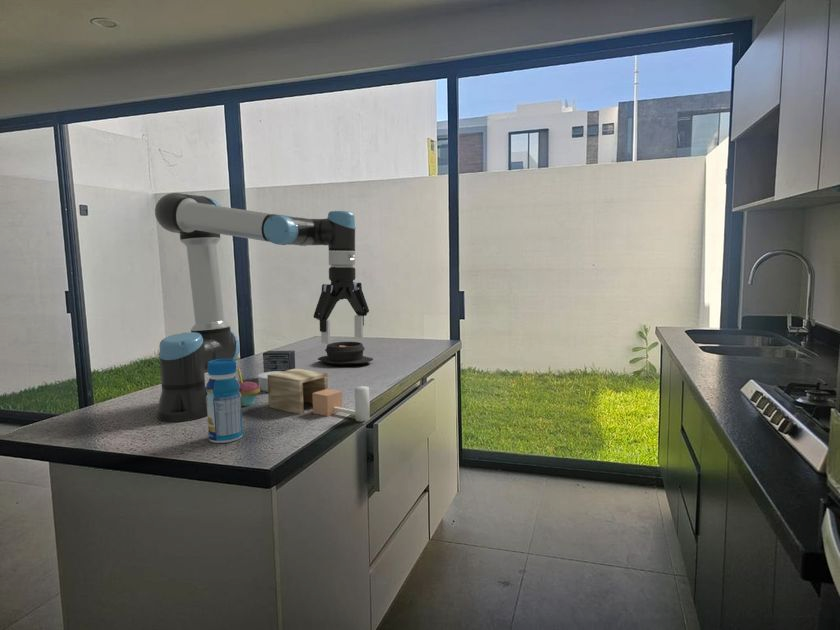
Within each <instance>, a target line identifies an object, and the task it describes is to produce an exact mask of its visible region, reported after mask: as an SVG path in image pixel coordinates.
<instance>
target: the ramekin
mask: <svg viewBox="0 0 840 630" xmlns="http://www.w3.org/2000/svg"><path fill="white" fill-rule="evenodd" d="M278 372H283V371H272V372H265V373H264V372H262V373H259V374H257V380H258V383H259V384H258V385H259V387H260V391H262V392H266V393H268V378H267V375H270V374H274V373H278Z"/></svg>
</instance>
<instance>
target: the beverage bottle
mask: <svg viewBox="0 0 840 630" xmlns="http://www.w3.org/2000/svg"><path fill="white" fill-rule="evenodd" d="M207 366H208V372H207V374H208V376H209V377H210V378H209V379H208V381H207V383H206V384H205V387H206V392H207V396H206V404H207V414H208V415H207V427H208V429H207V430H208V441H210V442H212V443H214V444H225V443H226V444H227V443H231V442H236V441H238V440H240V439H241V438H242V437H243V431H244V430H243V420H242V417H243V416H242V406H241V393H240V392H239V389H240V380H239V379H238V377H236V376H235V374H236V373H237V362H236V360H234V359H216V360H212V361H209V362H208V364H207Z"/></svg>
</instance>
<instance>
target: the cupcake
mask: <svg viewBox="0 0 840 630" xmlns="http://www.w3.org/2000/svg"><path fill="white" fill-rule="evenodd" d="M237 373H238V376H239V377H238V378H239V383H240V389H239V392H240V393H241V407H247V406H252V405H254V404H255V402H256V398H257V395H258V394H259V393H260V392H261V389H260V385H259V384H258V383H256V382H254V381H251V380H250V381H243V378H242V373H241V369H240V368H239V367H237Z"/></svg>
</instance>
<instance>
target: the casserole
mask: <svg viewBox="0 0 840 630" xmlns="http://www.w3.org/2000/svg"><path fill="white" fill-rule="evenodd" d="M365 349H366V347H364V344H363V343H362V342H358V341H336V342H330V344H326V348H325V349H324V351H325V352H326V355H324V356H320V357H318V358H317V361H319V362H320V361H321V362H325V363H327V364H331V365H333V366H338V365H348V366H354V364H355V365H358V364H367V363H369V362H371V361H374V358H373V357H368V356H365V355H364V351H365Z"/></svg>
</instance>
